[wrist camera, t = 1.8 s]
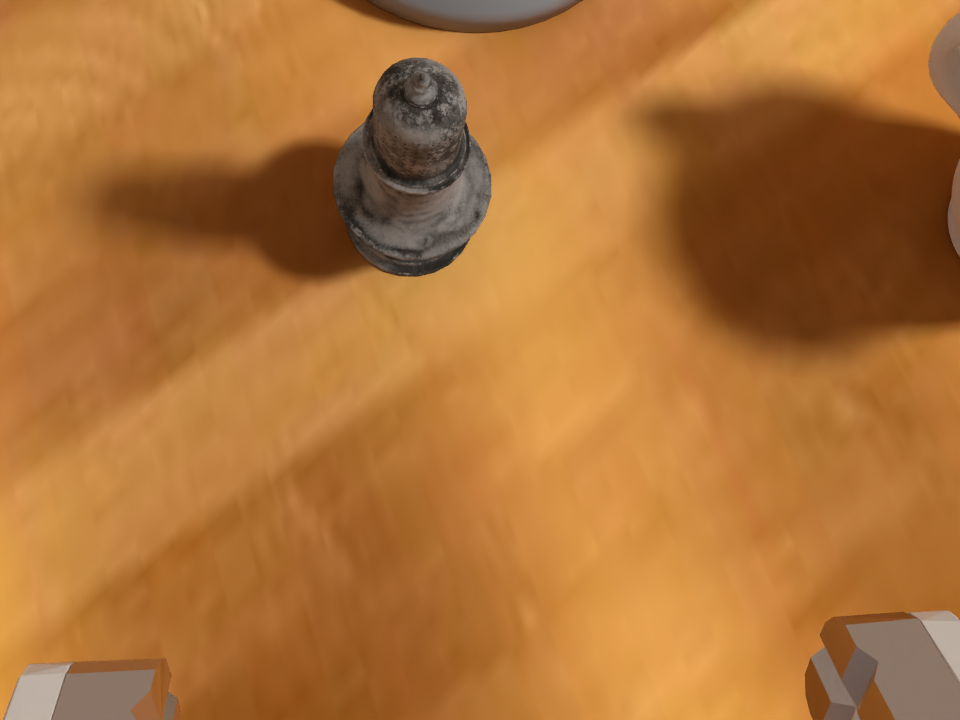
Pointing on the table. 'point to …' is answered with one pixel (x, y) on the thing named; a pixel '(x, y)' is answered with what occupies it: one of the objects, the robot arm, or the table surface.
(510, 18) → the socket stand
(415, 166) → the dark grey tapered piece
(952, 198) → the teacup
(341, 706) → the table surface
